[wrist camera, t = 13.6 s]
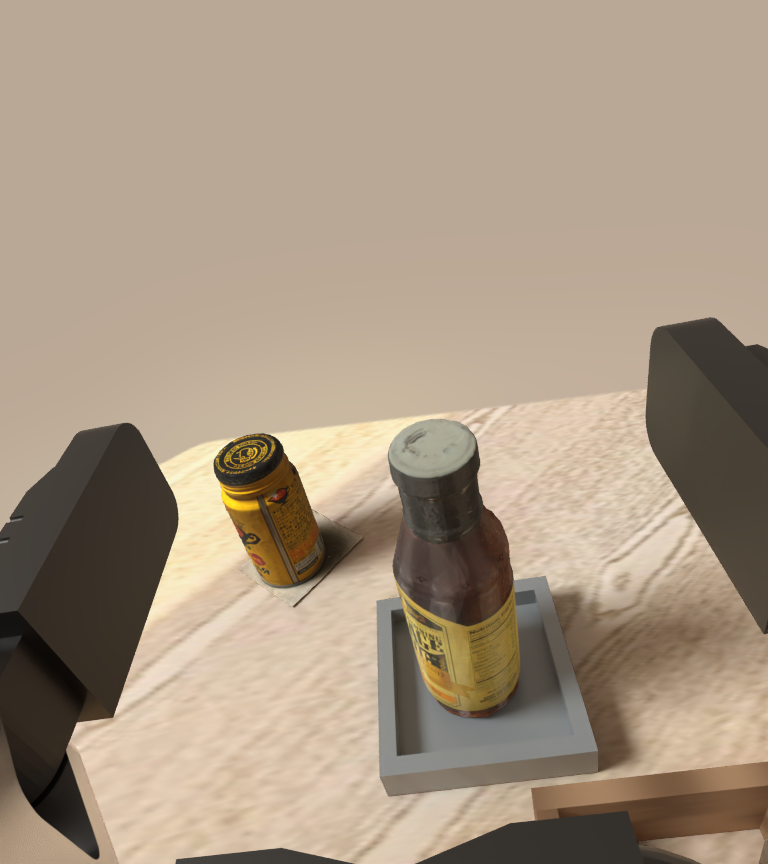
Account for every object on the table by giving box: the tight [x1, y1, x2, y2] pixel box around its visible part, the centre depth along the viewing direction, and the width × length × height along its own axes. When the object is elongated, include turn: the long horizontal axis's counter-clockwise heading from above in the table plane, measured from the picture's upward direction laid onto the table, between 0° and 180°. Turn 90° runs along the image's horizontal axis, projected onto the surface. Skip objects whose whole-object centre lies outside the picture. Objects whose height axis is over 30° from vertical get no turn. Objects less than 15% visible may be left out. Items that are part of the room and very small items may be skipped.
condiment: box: [214, 434, 363, 607], centre depth 49 cm, size 7×8×12 cm
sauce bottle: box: [388, 419, 520, 718], centre depth 33 cm, size 6×6×20 cm
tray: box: [377, 576, 598, 796], centre depth 39 cm, size 12×12×2 cm
